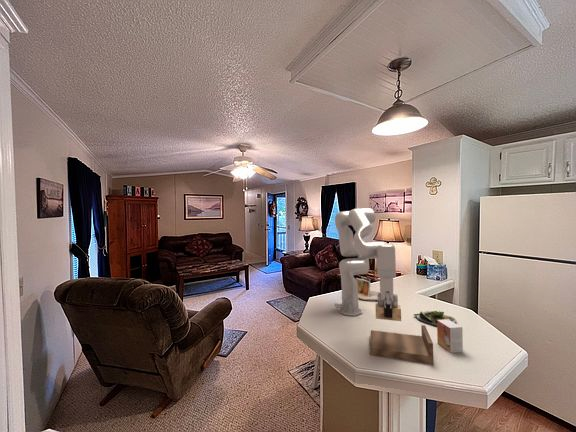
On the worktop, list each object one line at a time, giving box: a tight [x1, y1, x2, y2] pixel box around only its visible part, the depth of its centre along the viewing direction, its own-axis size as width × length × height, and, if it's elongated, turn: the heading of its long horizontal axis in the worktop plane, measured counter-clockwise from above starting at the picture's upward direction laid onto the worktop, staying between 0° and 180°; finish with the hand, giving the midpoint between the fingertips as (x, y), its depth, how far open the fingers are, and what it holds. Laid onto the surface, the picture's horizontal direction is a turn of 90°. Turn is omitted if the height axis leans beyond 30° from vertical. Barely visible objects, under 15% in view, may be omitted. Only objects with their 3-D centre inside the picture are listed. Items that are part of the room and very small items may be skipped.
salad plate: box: [413, 310, 457, 328], centre depth 133 cm, size 19×18×5 cm
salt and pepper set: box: [375, 292, 402, 322], centre depth 107 cm, size 10×5×10 cm, turn 70°
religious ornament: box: [355, 277, 380, 302], centre depth 170 cm, size 25×20×12 cm
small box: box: [436, 319, 464, 354], centre depth 105 cm, size 8×6×10 cm
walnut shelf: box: [369, 324, 435, 365], centre depth 105 cm, size 23×16×8 cm
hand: (387, 314), depth 107 cm, fingers closed on salt and pepper set, 5 cm apart
